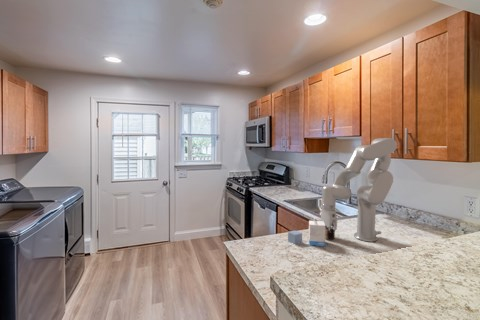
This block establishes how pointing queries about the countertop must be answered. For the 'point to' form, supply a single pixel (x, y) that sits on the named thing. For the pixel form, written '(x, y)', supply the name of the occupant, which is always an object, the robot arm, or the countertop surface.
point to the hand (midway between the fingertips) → (327, 236)
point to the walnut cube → (327, 233)
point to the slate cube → (294, 237)
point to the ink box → (317, 233)
